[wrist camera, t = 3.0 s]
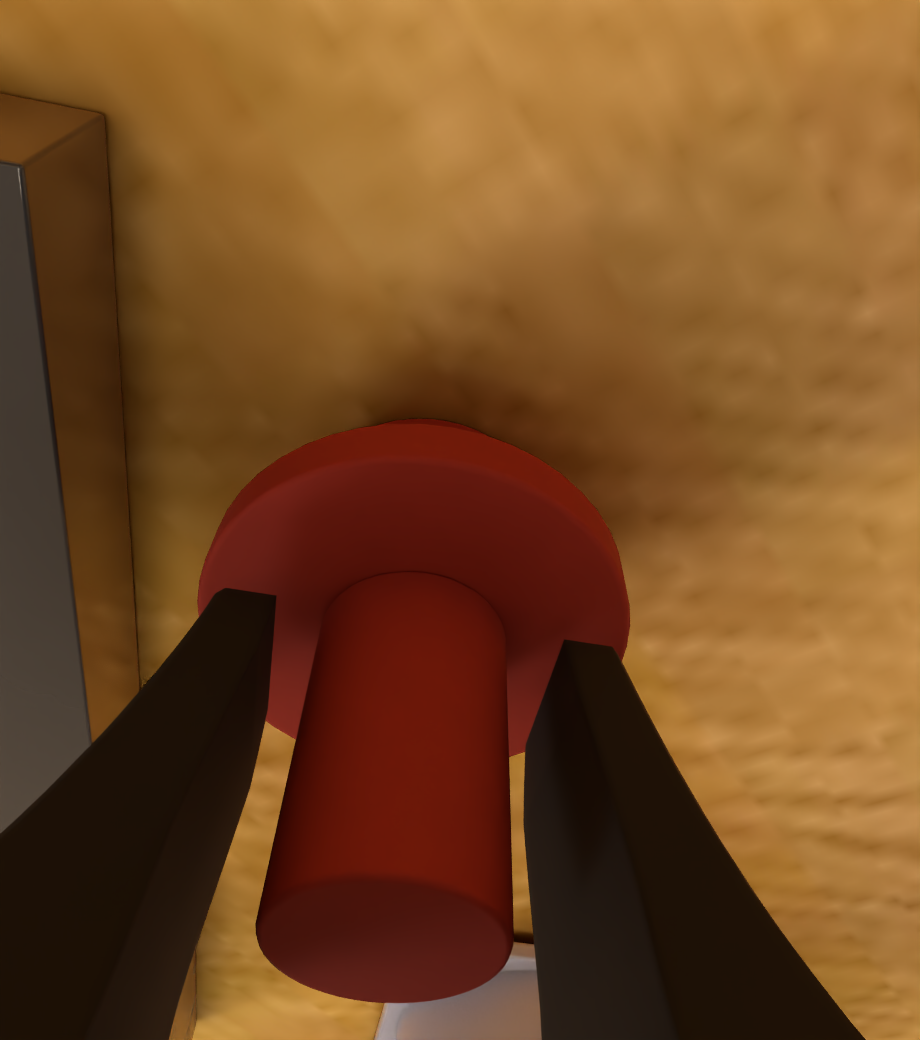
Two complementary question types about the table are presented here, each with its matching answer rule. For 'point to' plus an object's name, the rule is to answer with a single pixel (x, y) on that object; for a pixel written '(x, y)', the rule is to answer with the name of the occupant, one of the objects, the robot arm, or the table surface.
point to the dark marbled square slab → (59, 453)
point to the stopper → (408, 689)
